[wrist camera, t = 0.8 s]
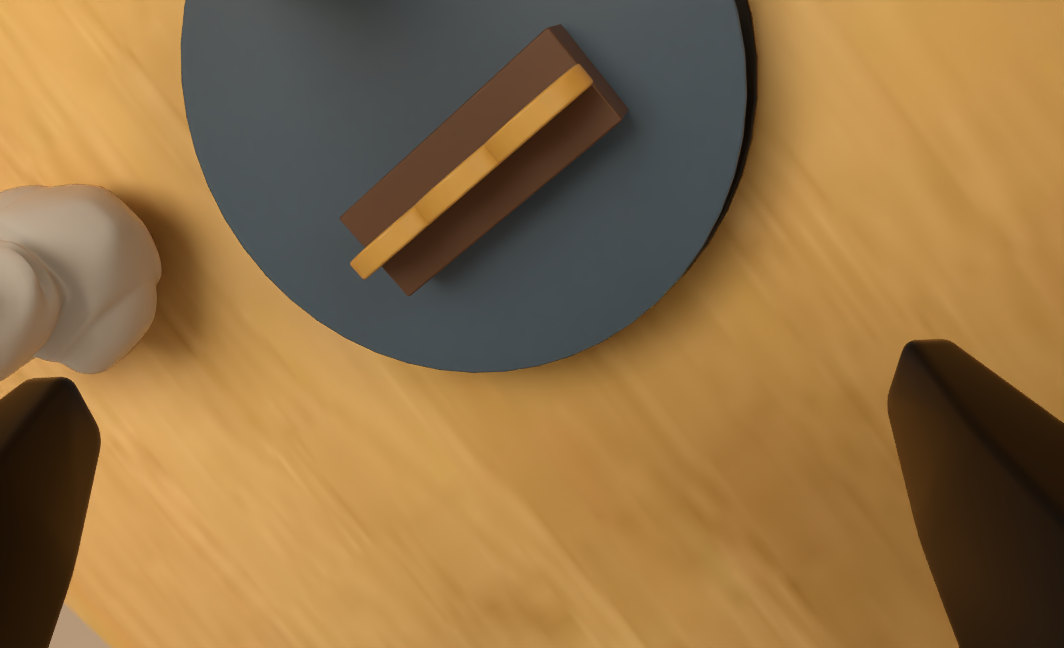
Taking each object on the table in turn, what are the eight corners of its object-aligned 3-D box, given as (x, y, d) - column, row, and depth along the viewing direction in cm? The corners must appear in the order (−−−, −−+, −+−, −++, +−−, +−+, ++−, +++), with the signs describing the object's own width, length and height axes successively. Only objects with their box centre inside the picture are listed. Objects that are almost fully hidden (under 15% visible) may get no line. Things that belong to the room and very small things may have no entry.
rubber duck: (230, 258, 26) (36, 370, 18) (114, 388, 28) (-98, 532, 21) (89, 120, 25) (-171, 179, 18) (-17, 267, 28) (-284, 372, 20)
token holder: (866, 140, 20) (1008, 297, 10) (448, 442, 25) (275, 740, 15) (479, -377, 18) (190, -805, 8) (107, 65, 23) (-347, 131, 13)
